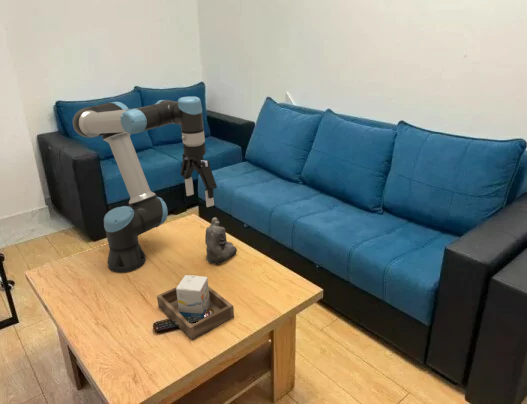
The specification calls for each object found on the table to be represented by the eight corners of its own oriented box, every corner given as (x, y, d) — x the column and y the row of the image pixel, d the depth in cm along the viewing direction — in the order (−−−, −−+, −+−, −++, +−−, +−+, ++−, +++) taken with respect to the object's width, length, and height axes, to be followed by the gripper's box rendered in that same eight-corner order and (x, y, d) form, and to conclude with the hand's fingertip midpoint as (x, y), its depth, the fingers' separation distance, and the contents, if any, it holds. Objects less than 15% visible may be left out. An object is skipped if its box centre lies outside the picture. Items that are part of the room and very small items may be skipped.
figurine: (235, 249, 186) (232, 211, 179) (240, 263, 176) (237, 223, 169) (204, 253, 184) (200, 215, 176) (208, 268, 173) (204, 228, 166)
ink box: (203, 320, 143) (199, 291, 138) (179, 317, 145) (174, 288, 140) (211, 304, 151) (208, 275, 146) (188, 301, 153) (184, 274, 148)
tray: (158, 307, 151) (156, 295, 149) (198, 288, 161) (197, 277, 159) (191, 340, 135) (190, 328, 133) (234, 317, 145) (233, 305, 143)
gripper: (166, 138, 154) (173, 193, 163) (204, 153, 137) (210, 214, 145) (184, 134, 159) (191, 188, 167) (223, 148, 141) (228, 207, 150)
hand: (199, 200), depth 156 cm, fingers open, 13 cm apart
